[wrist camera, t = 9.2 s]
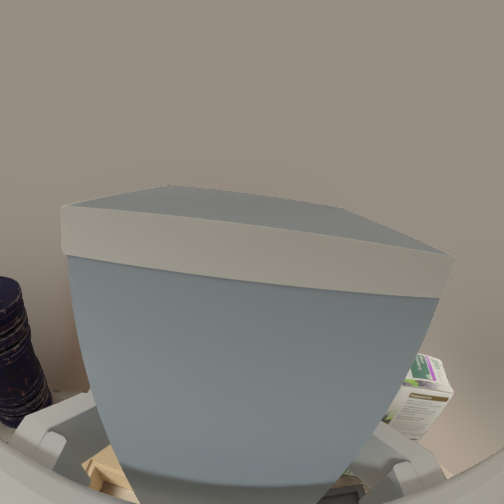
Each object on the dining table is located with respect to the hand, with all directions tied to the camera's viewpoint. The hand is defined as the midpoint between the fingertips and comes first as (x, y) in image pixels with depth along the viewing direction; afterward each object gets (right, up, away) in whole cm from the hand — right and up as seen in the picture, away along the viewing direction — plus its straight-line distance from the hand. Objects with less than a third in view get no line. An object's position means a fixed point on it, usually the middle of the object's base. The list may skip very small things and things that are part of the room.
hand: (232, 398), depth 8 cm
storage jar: (-28, -14, +13) cm, 34 cm away
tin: (-1, -8, +1) cm, 8 cm away
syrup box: (+14, -20, +15) cm, 28 cm away
